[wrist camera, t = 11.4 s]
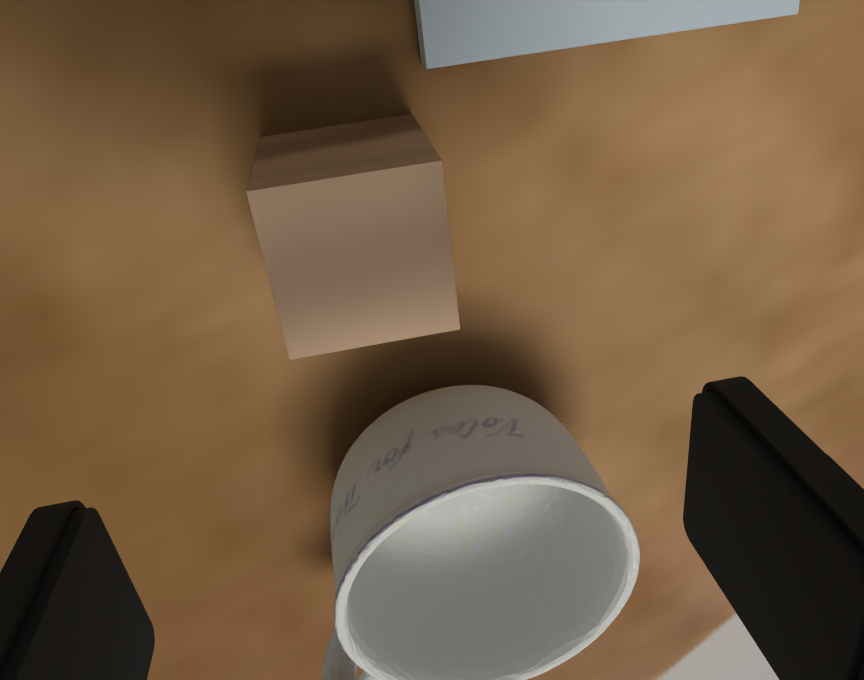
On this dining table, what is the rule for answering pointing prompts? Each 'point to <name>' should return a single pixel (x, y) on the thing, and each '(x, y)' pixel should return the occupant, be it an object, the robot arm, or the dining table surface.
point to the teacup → (471, 543)
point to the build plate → (565, 23)
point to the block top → (354, 234)
